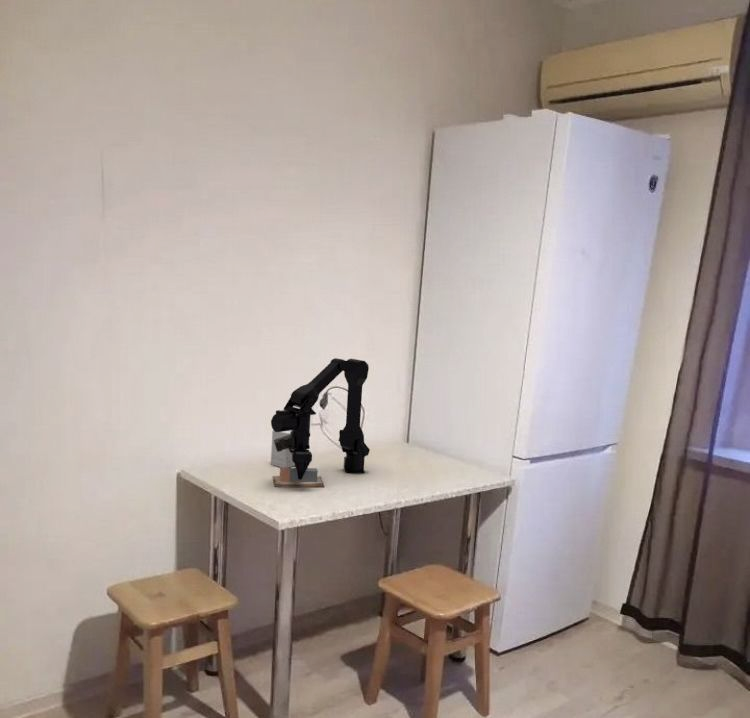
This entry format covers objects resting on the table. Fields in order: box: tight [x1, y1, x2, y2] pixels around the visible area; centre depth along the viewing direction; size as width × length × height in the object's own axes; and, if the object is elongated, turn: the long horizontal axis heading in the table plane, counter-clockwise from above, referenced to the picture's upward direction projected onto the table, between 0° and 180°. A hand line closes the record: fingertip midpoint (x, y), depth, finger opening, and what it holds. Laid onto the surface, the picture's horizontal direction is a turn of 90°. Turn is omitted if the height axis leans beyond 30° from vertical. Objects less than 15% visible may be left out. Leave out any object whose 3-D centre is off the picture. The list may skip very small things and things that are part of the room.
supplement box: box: [270, 429, 295, 468], centre depth 254 cm, size 7×7×13 cm
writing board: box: [272, 475, 325, 488], centre depth 234 cm, size 16×11×1 cm
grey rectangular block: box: [279, 467, 319, 482], centre depth 234 cm, size 12×4×4 cm, turn 101°
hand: (298, 475), depth 234 cm, fingers open, 9 cm apart
